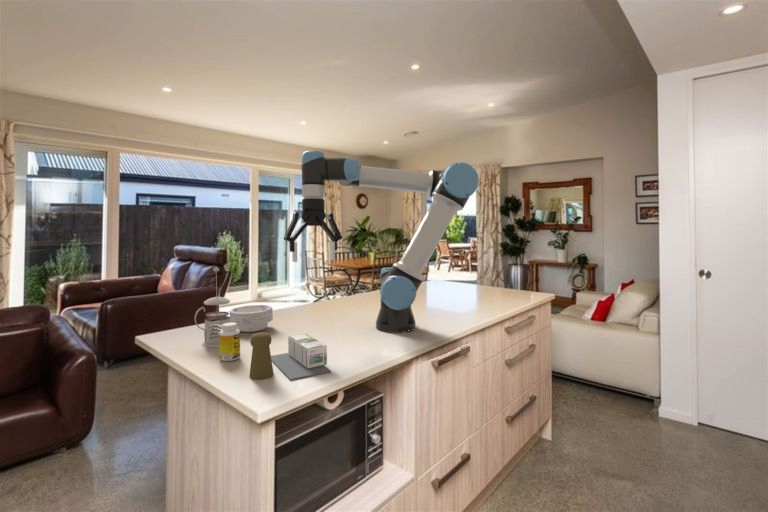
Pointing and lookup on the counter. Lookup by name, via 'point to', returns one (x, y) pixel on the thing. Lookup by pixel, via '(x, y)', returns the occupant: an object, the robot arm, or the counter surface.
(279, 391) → the counter surface
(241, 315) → the white bowl
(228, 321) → the french press
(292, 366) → the mat
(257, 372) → the olive pawn
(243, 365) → the counter surface
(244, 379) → the counter surface
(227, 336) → the supplement bottle
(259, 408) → the counter surface
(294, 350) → the syrup box
